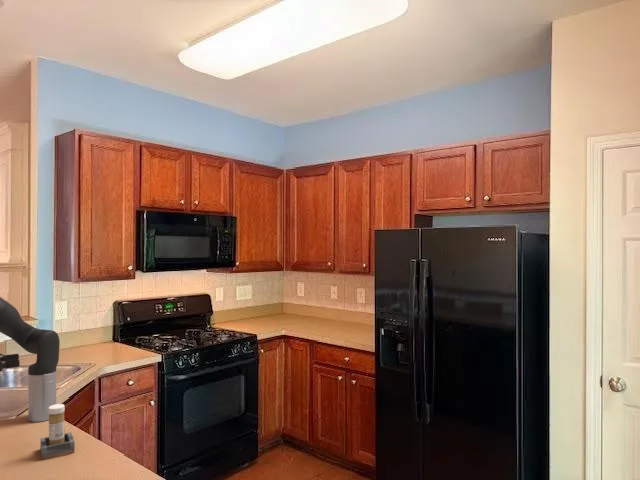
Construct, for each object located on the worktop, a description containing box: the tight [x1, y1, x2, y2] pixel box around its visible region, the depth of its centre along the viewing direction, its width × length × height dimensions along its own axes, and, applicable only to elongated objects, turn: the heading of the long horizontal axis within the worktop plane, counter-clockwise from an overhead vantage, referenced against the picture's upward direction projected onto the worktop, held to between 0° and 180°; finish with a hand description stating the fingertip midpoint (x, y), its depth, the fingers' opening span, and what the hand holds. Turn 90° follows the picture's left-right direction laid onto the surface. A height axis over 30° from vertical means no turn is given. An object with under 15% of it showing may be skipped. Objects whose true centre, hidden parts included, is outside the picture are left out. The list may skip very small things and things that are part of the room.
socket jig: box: [39, 432, 76, 460], centre depth 151 cm, size 9×9×4 cm
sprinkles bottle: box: [48, 403, 66, 445], centre depth 151 cm, size 5×5×14 cm
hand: (19, 359), depth 152 cm, fingers open, 8 cm apart
